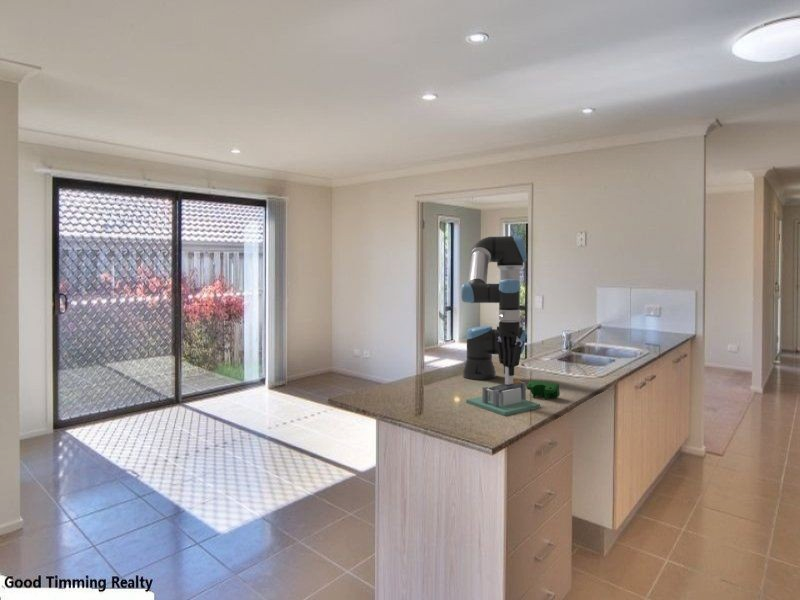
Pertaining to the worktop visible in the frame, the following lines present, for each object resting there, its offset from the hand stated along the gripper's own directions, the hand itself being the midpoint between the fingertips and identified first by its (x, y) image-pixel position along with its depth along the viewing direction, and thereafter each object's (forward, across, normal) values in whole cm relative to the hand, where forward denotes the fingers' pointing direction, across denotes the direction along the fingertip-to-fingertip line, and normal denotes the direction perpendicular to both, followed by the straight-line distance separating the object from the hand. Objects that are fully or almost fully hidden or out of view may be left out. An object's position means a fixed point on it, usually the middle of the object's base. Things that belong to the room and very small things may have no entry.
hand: (508, 383), depth 187 cm
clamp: (+8, +1, +18) cm, 19 cm away
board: (+8, 0, -3) cm, 8 cm away
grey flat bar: (+1, 0, -1) cm, 2 cm away
